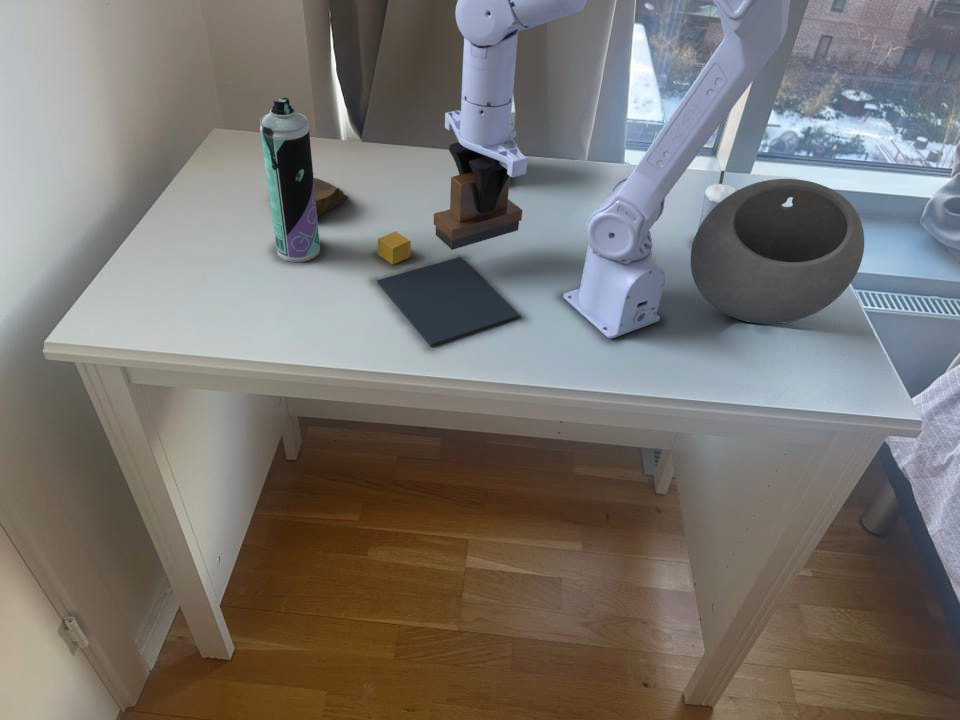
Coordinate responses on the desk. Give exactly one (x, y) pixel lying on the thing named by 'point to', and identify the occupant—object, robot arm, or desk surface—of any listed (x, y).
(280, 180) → the spray can
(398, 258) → the mustard wooden cube
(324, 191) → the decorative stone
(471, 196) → the brush
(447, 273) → the mat
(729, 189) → the milkshake
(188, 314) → the desk surface
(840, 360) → the desk surface
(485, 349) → the desk surface
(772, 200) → the planter
